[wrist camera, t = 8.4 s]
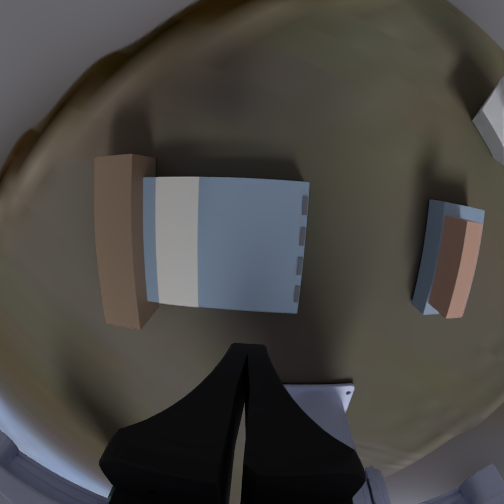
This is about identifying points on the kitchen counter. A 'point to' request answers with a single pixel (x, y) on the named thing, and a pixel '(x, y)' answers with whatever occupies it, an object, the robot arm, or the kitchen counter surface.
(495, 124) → the figurine
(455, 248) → the slab with raised block
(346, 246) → the kitchen counter surface
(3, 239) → the kitchen counter surface
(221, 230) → the striped blue tabbed panel
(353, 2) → the kitchen counter surface
